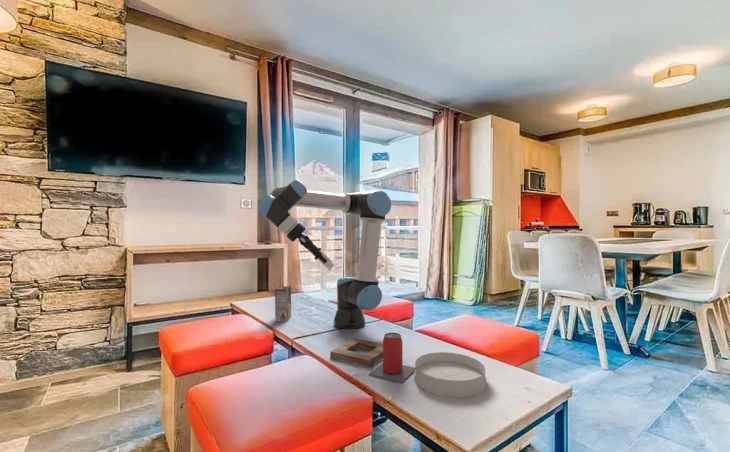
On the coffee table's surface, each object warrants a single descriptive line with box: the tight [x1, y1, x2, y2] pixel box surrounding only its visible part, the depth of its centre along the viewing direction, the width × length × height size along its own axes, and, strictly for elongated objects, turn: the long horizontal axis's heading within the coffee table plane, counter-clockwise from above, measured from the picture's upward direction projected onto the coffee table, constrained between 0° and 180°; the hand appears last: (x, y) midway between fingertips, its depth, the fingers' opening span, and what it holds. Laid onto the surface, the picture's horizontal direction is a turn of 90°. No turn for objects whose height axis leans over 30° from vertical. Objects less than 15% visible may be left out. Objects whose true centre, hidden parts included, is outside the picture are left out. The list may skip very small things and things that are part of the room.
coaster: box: [368, 362, 415, 384], centre depth 119 cm, size 12×12×1 cm
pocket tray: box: [329, 337, 383, 368], centre depth 134 cm, size 17×17×2 cm
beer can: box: [382, 332, 404, 374], centre depth 119 cm, size 7×7×12 cm
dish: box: [414, 351, 487, 398], centre depth 113 cm, size 22×22×5 cm
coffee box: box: [274, 285, 292, 322], centre depth 183 cm, size 9×6×16 cm
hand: (330, 265), depth 143 cm, fingers open, 13 cm apart
